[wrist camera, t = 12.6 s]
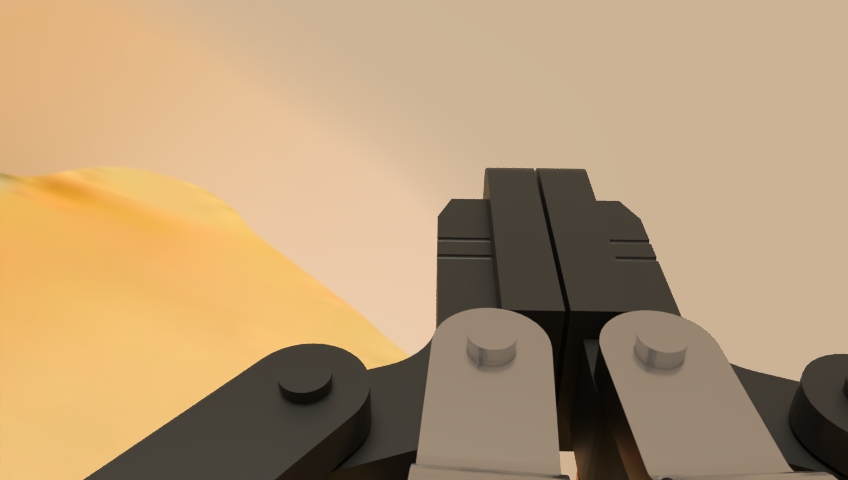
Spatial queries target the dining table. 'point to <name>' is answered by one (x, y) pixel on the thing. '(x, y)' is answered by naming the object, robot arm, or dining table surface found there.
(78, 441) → the dining table surface
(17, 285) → the dining table surface
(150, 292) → the dining table surface
